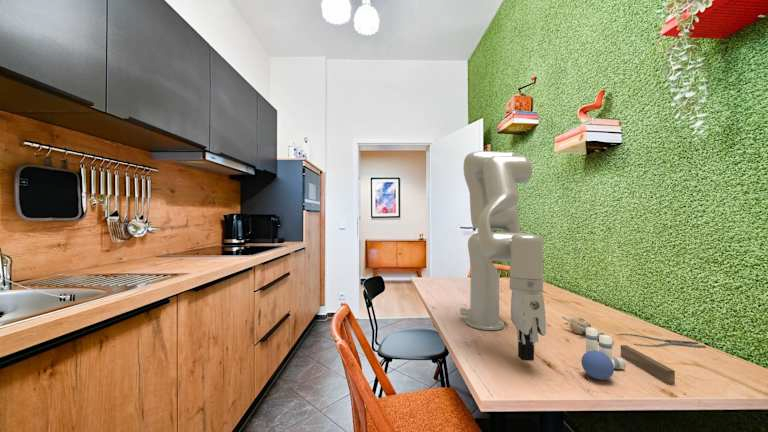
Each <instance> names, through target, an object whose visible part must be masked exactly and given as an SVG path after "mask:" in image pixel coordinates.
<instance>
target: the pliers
mask: <svg viewBox="0 0 768 432" xmlns="http://www.w3.org/2000/svg"><path fill="white" fill-rule="evenodd" d="M618 335H619V336H632V337H638V338H644V339H650V340H653V341H659V342H664V343H659V344H642V343H633V345H634V346H640V347H649V348H651V347H652V348H654V347H655V348H659V347H669V346H678V347H679V346H681V347H686V348H687V347H688V348H695V349H696V348H699V349H700V348H701V349H703V348H705V349H706V348H707V346H706V345H700V344H699V342H696V341H687V340H677V339H675V340H674V339H661V338H656V337H650V336H647V335H646V336H645V335H640V334H632V333H618Z"/></svg>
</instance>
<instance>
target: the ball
mask: <svg viewBox="0 0 768 432" xmlns="http://www.w3.org/2000/svg"><path fill="white" fill-rule="evenodd" d="M581 366H582V369H583V370H584V372H585V373H586V374H587V375H589V376H590V377H591V378H593V379H595V380H598V381H599V380H600V381H605V380H608V379H610V378H611V377H612V376H613V375H614V372H615V369H614V366H613V363H612V361H611V359H610V358H609V357H608V356H607V355H605V354H604V353H602V352H600V351H599V350H598V351H595V350H592V351H588V352H586V351H585V353H584V354H582V357H581Z"/></svg>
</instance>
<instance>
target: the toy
mask: <svg viewBox="0 0 768 432" xmlns="http://www.w3.org/2000/svg"><path fill="white" fill-rule="evenodd" d="M561 317H562V319H564V320H565V321H567V322H569V327H570V330H571V331H572V332H573V333H575V334H577V335H580V334H581V335H580V336H584V334H586V327H591V328H592V325H591V324H590V323H589V322H588V321H585V319H584V318H582V317H579V316H577V317H574V318H572V317H569V318H568V317H566V316H564V315H562V316H561ZM583 333H584V334H583ZM597 333H598V340H599V335H601V334H602V335H606V334H605V333H603V332H601V331H599V330H597ZM614 343H615V341H614V340H612V345H614Z"/></svg>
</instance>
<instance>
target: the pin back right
mask: <svg viewBox="0 0 768 432" xmlns="http://www.w3.org/2000/svg"><path fill="white" fill-rule="evenodd" d="M612 341H613V338H612V336H611V335H608V334H605V335H602V334H601V335H599V341H598V351H600V352H602V353H604V354H605V355H607V356H608V357H609V358H610V359H611V361H612V357H613V344H612Z"/></svg>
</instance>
